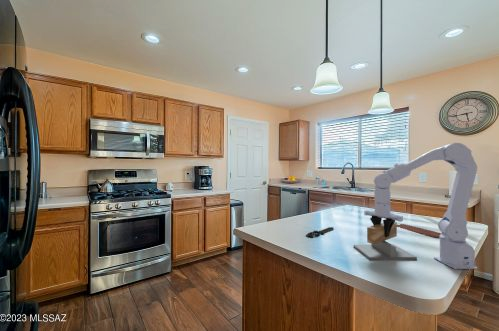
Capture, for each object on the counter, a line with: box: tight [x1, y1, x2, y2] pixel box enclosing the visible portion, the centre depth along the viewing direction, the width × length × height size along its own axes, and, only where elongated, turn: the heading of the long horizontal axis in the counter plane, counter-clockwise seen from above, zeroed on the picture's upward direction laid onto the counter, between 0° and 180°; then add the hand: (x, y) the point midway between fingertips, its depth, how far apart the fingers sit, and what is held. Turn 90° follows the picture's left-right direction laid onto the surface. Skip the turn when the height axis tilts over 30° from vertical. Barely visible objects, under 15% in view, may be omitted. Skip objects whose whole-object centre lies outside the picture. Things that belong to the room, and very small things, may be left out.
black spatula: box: [305, 226, 335, 239], centre depth 125 cm, size 25×6×1 cm, turn 127°
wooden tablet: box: [397, 223, 442, 239], centre depth 127 cm, size 27×10×2 cm, turn 15°
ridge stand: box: [353, 240, 418, 261], centre depth 95 cm, size 14×18×5 cm
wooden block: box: [366, 221, 398, 245], centre depth 95 cm, size 3×18×6 cm, turn 123°
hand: (382, 235), depth 95 cm, fingers closed on wooden block, 3 cm apart
